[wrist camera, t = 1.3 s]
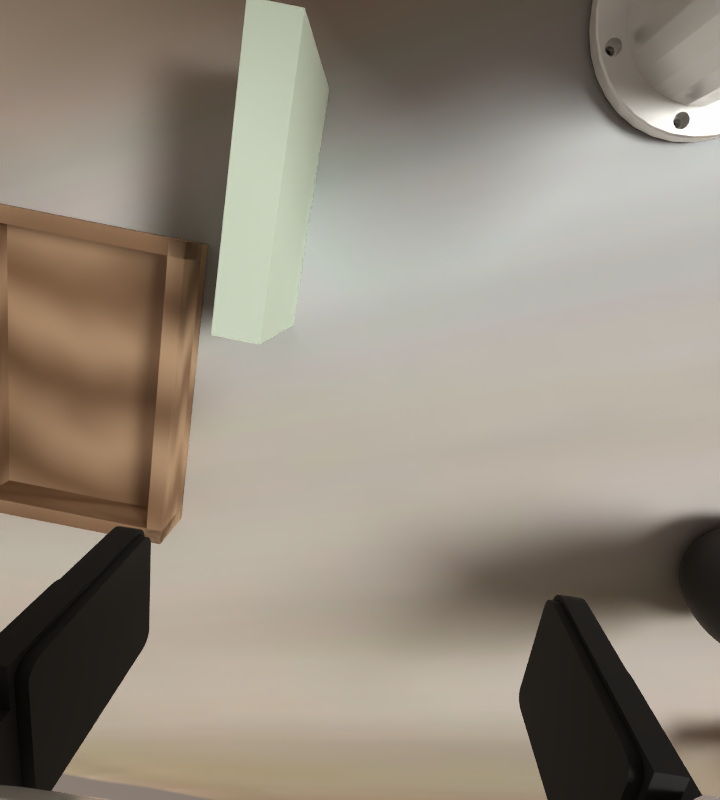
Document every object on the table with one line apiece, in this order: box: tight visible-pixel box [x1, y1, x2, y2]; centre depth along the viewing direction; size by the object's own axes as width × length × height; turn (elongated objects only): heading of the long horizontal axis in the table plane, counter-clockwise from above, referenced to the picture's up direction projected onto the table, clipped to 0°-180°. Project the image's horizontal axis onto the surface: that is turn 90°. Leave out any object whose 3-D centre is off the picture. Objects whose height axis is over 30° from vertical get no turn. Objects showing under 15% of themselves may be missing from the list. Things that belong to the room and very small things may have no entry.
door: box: [211, 0, 329, 345], centre depth 25 cm, size 14×2×9 cm, turn 169°
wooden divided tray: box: [0, 204, 208, 544], centre depth 31 cm, size 20×19×4 cm
